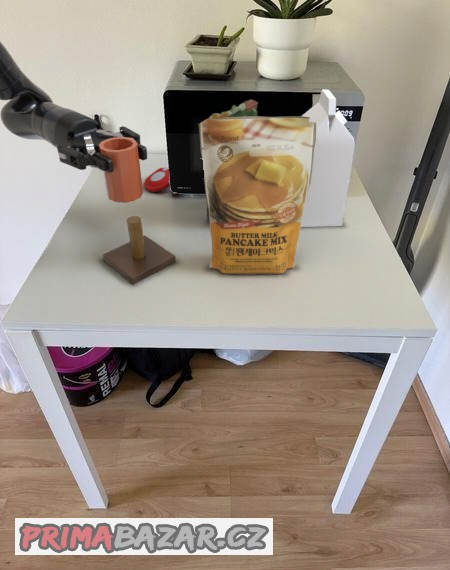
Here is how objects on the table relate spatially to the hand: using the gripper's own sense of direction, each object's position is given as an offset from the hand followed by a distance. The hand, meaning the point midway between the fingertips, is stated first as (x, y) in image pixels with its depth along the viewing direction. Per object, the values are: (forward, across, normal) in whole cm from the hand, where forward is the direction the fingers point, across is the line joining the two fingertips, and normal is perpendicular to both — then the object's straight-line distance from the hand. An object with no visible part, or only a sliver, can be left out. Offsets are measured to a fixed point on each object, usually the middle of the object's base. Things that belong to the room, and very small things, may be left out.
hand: (128, 160), depth 72 cm
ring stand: (-1, 0, +21) cm, 21 cm away
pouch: (0, +25, +22) cm, 33 cm away
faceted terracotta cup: (-2, 0, +7) cm, 7 cm away
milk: (+12, +39, +21) cm, 46 cm away
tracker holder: (-21, +24, +22) cm, 38 cm away
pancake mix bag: (+15, +15, +22) cm, 30 cm away
